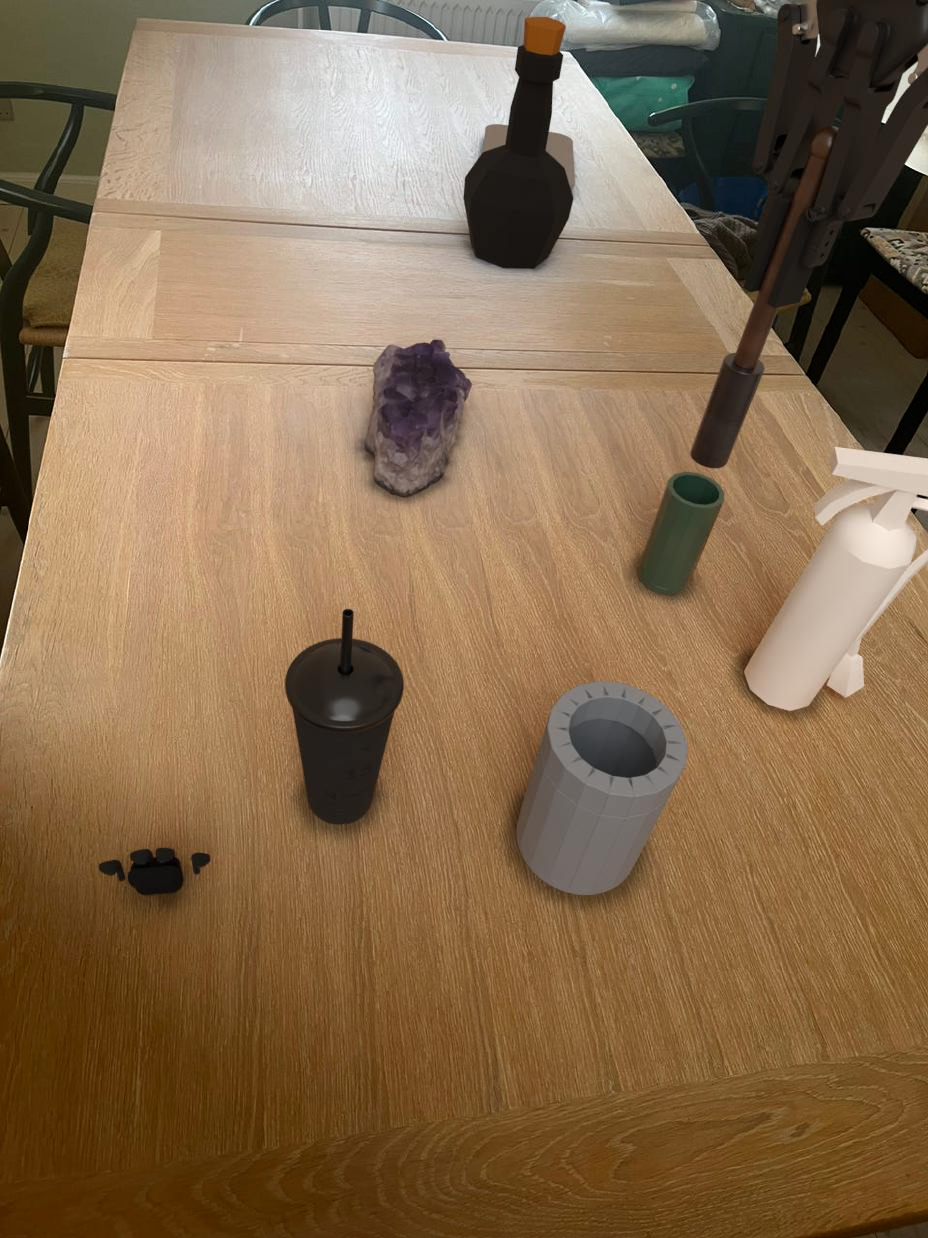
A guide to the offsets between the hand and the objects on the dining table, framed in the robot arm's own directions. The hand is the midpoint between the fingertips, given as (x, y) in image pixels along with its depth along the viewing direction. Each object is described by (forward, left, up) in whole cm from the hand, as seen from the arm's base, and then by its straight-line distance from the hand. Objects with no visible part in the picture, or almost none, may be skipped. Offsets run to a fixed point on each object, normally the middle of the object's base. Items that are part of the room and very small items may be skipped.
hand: (771, 294), depth 67 cm
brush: (0, 0, -15) cm, 15 cm away
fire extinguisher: (-13, +8, -31) cm, 35 cm away
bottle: (+29, -68, -31) cm, 80 cm away
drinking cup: (+22, +31, -31) cm, 49 cm away
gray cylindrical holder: (+4, +29, -31) cm, 43 cm away
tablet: (+33, -103, -31) cm, 112 cm away
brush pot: (0, -3, -31) cm, 31 cm away
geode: (+29, -15, -31) cm, 45 cm away
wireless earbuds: (+31, +42, -31) cm, 61 cm away
